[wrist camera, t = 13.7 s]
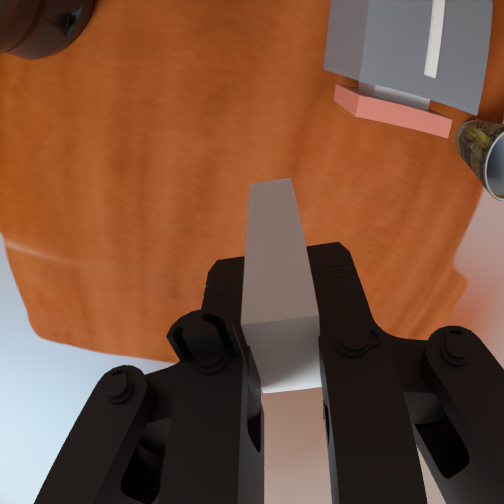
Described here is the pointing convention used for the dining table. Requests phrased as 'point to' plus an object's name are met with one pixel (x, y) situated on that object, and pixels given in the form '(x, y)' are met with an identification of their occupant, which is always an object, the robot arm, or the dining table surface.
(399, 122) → the pink piece
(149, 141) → the dining table surface
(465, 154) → the ceramic cup
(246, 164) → the dining table surface
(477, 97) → the press housing
